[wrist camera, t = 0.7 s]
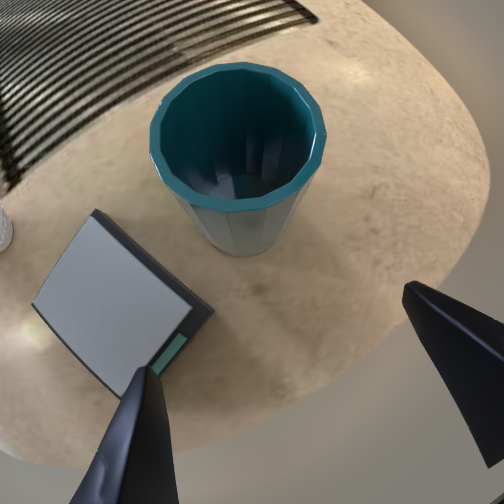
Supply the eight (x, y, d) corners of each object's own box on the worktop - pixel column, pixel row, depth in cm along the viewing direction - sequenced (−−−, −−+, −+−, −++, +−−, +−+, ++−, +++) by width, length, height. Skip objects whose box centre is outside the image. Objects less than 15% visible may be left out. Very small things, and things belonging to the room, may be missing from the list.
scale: (215, 310, 23) (211, 312, 20) (140, 402, 22) (129, 413, 19) (105, 214, 24) (91, 206, 21) (43, 304, 23) (26, 304, 20)
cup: (304, 207, 24) (356, 120, 11) (249, 275, 23) (250, 251, 10) (237, 157, 24) (227, 42, 12) (182, 220, 24) (116, 145, 11)
